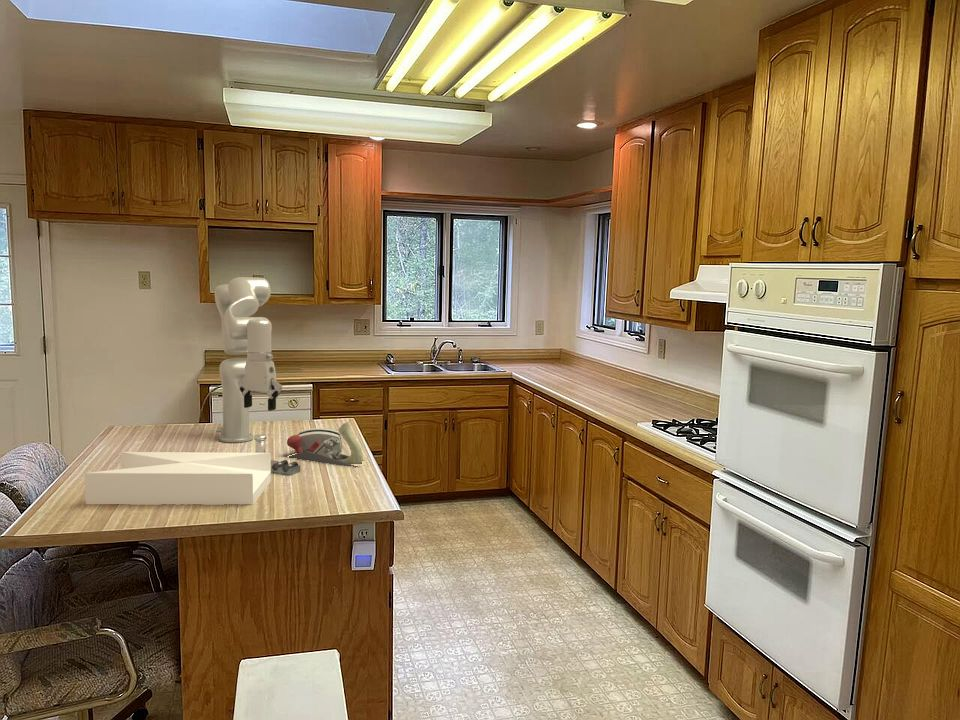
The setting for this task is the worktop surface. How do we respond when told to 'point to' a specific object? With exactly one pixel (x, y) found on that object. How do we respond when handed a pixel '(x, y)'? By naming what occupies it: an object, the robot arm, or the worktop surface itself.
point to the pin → (260, 443)
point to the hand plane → (329, 449)
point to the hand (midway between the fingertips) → (259, 408)
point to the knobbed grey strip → (285, 467)
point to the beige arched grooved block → (319, 437)
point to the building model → (181, 479)
